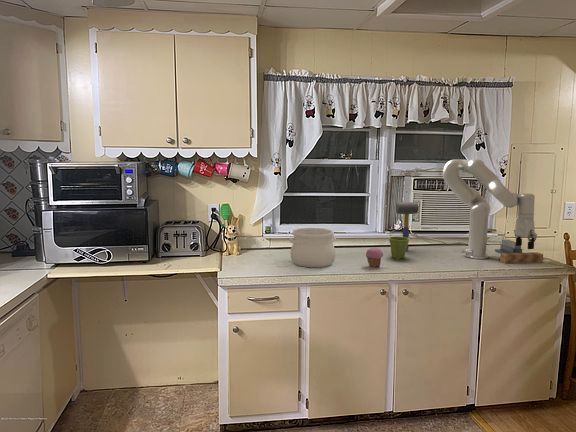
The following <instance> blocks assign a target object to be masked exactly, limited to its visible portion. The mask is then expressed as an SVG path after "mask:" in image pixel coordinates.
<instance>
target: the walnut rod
mask: <svg viewBox="0 0 576 432" xmlns="http://www.w3.org/2000/svg"><path fill="white" fill-rule="evenodd" d="M543 259H544V253H541V252H537V251H536V252H535V251H534V252H522V253H501V254H500V257H499V261H500V263H503V264H505V265H506V264H541V263H543Z"/></svg>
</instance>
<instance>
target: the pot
mask: <svg viewBox="0 0 576 432" xmlns="http://www.w3.org/2000/svg"><path fill="white" fill-rule="evenodd" d="M292 235H293V237H290V238H289V243H291V244H292V246H291V248H290V260H291V261H292V262H293V264H295V265H297V266H299V267H302V266H303V267H302V268H311V267H318V268H324V267H329V266H331V265H332V264H333V263H334V262H335V259H336V254H337V252H336V248H335V246H334V242H336V241H337V236H336V235H335V232H334V230H331V229H328V228H320V227H304V228H296V229H293V231H292Z"/></svg>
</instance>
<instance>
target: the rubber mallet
mask: <svg viewBox="0 0 576 432" xmlns="http://www.w3.org/2000/svg"><path fill="white" fill-rule="evenodd" d="M395 213H396V214H398V215H404V217H403V218H404V221H403V227H402V237H406V238H409V236H410V228H409V220H410V219H409V218H410V215H415V214H417V213H419V203H418V202H415V201H414V202H413V201H402V202H397V203H396V204H395ZM409 239H410V238H409ZM408 249H409V244H408V245H407V249H406V251H408Z"/></svg>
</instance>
